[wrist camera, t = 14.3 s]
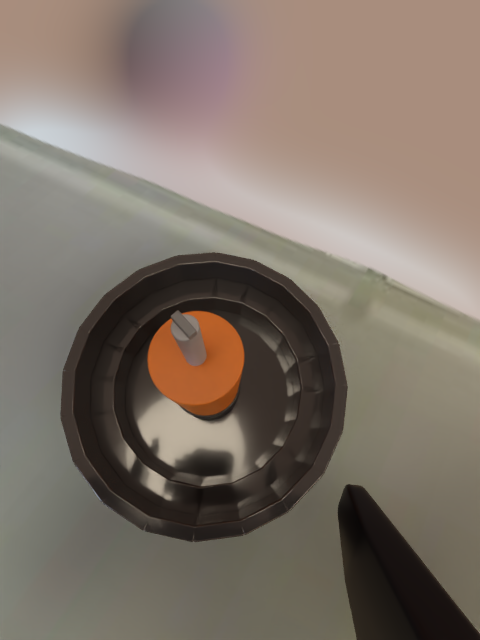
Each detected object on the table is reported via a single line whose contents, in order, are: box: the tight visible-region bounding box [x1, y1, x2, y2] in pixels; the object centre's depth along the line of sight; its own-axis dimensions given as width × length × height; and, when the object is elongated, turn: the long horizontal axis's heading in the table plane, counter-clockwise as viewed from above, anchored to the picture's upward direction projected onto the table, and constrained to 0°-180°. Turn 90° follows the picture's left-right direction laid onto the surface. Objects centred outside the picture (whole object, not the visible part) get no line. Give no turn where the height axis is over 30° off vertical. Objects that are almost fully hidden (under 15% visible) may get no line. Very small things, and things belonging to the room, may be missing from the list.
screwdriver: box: [147, 310, 244, 420], centre depth 14 cm, size 3×3×12 cm
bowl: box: [61, 253, 348, 542], centre depth 18 cm, size 13×13×4 cm
